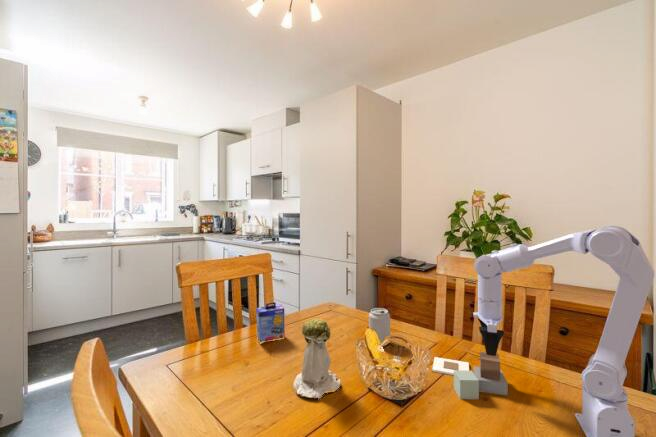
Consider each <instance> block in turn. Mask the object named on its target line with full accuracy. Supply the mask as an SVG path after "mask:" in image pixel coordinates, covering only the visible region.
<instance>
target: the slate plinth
mask: <svg viewBox="0 0 656 437" xmlns="http://www.w3.org/2000/svg"><path fill="white" fill-rule="evenodd" d="M473 373H474V375H475V376H476V377H477V379H478V380H479V393H480V392H481V393H487V394H495V395H502V396H508V393H509V392H508V382H507V379H506V377H505V375H504V372H503V371H502V369H501V368H500V380H495V379H489V378H483V377H481V375H480V366H477V365H476V366H475V365H474V366H473Z"/></svg>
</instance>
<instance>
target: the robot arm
mask: <svg viewBox="0 0 656 437" xmlns="http://www.w3.org/2000/svg"><path fill="white" fill-rule="evenodd" d="M571 251H573V252H576V253H580V254H583V255H586V254H588V253H589V252H590V254H591V255H592V256H594V258H597V259H599V260H600V261H602V262H603V263H605V264H607V265H609V267H610V269H612V271H614V272H615V274H617V276H618V277H619V281H618V283H617V284H618V285H617V287H616V290H615V293H614V296H613V300H612V302H611V306H610V308H609V312H608V314H607V318H606V321H605V323H604V327H603V331H602V334H601V336H600V340H599V343H598V346H597V348H596V351H595V353H594V354H592V356H590V357H589V360H588V363H587V365H586V367H585V369H583V370H582V372H581V382H582V383H581V384H582V388H581V390H582V391H581V396H582V398H581V413H578V412H576V413H575V414H574V416H575V418H576V420H577V422H578V423H579V424H578V425H579V426H580V427H581V429H582V432H583V433H584V435H585V436H586V437H635V436H636V424H635V420H634V418H633V416H632V415H631V413H630V411H629V408H628V399H629V398H628V393H627V392H626V390H625V388H624V386H623V385H624V383H625V379H626V378H627V375H628V371H627V368H626V359H627V355H628V353H629V350H630V348H631V345H632V342H633V339H634V336H635V334H636V330H637V327H638V325H639V321H640V318H641V315H642V313H643V310H644V307H645V304H646V301H647V298H648V297H649V296H648V295H649V292H650V289H651V287H652V284H653V281H654V278H655V270H654V267H653V265H652V264H651V262H650V260H649V258H648V257H647V255H646V253H645V251H644V249H643V247H642V245H641V241H640V240H639V239H638V237H636V236H634V235H633V234H632V233H631V232H630V231H629V230H628V229H626V228H623V227H621V226H618V225H617V226H616V225H609V226H604V227H601V228H600V229H597V228H595V229H594V228H593V229H588V230H582V231H576V232H572V233H570V234H567V235H563V236H560V237H557V238H553V239H551V240H548V241H545V242H542V243H539V244H535V245H533V246H528V245H526V244H524V243H523V244H522V243H519V244H517V243H516V242H514V243H511V244H510V245H509V247H507V248H504V249H501V250H497V249H495V250H492V251H491V253H487V254H483V255H481V256H478V257H477V258H476V259H475V261H474V264H473V267H474V270H475V273H476V274H477V312H476V311H475V312H472V314H473V317H474V318H477V320H478V322H479V324H480V325H479V326H478V331H479V333H480V335H481V337H482V339H483V343H484V349H485V352H486V354H487V355H491V356H496V354H498V349H499V344H500V342H501V340H502V339H503V337H504V335H505V331H504V329H503V330H502V329H498V326H499V325H500V323H501V322H502V321H503V320H504V318H503V317H504V316H503V296H502V295H503V282H502V279H503V278H502V277H503V275H502V274H505V273H510V272H513V271H518V270H521V269H525V268H529V267H532V266H533V264H534V262H535V260H538V259H542V258H545V257H549V256H555V255H559V254H563V253H566V252H567V253H568V252H571Z"/></svg>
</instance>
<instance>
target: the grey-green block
mask: <svg viewBox="0 0 656 437" xmlns="http://www.w3.org/2000/svg"><path fill="white" fill-rule="evenodd" d="M453 389H454V391H455V392H456V395H457V396H458V398H459V400H479V399H480V397H479V396H480V394H479V393H480V392H479V380H478V379H477V377H476V376H475V375H474V371H472V370H469V371H465V370H454V375H453Z"/></svg>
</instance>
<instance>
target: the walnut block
mask: <svg viewBox="0 0 656 437" xmlns="http://www.w3.org/2000/svg"><path fill="white" fill-rule="evenodd" d="M479 367H480V375H481V377H483V378H489V379H495V380H500V369H501V359H500V355H499V353H496V356H491V355H487V354H486V351H482V350H480V351H479Z"/></svg>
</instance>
